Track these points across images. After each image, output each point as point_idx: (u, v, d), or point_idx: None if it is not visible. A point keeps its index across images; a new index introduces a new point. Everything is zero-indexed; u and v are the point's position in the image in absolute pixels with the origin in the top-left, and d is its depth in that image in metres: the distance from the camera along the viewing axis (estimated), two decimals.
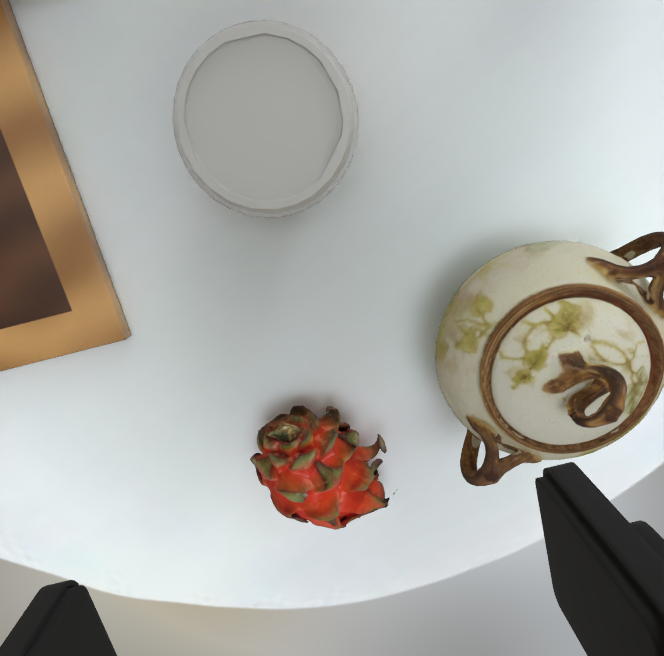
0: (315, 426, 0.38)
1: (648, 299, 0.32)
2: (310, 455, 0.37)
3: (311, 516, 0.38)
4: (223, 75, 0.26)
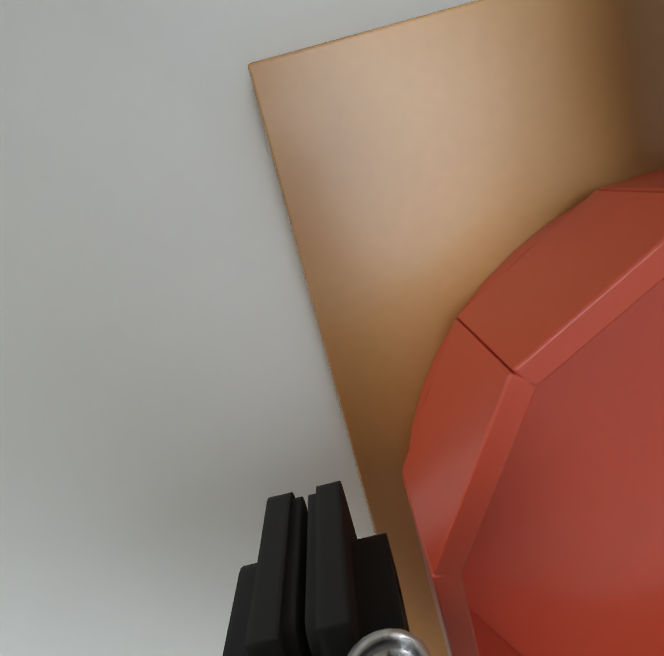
0: None
1: None
2: None
3: None
4: None
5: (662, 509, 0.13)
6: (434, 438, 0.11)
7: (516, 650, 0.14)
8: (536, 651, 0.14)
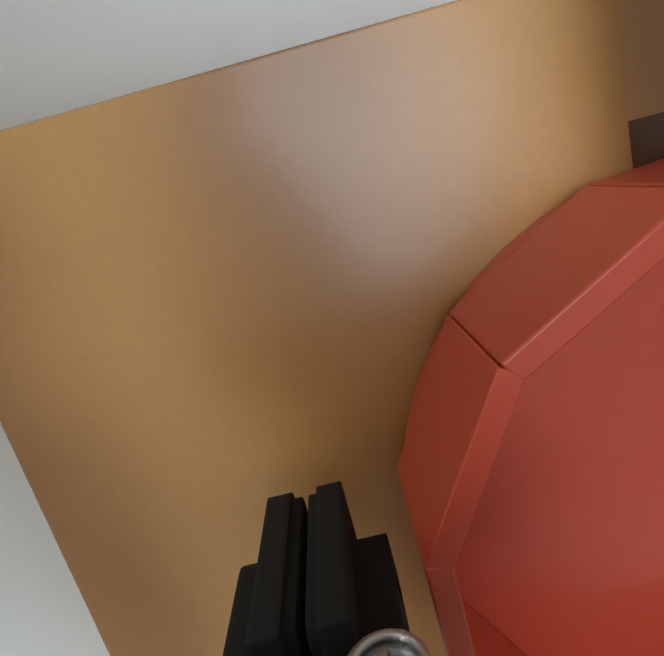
0: None
1: None
2: None
3: None
4: None
5: (657, 502, 0.13)
6: (427, 433, 0.11)
7: (514, 643, 0.14)
8: (534, 644, 0.14)
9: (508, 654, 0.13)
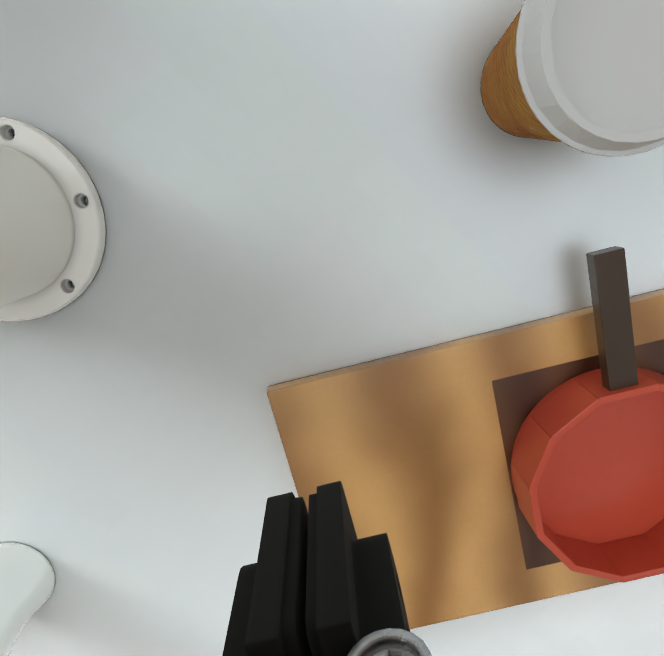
0: None
1: None
2: None
3: None
4: (584, 83, 0.22)
5: (596, 475, 0.38)
6: (525, 452, 0.36)
7: (546, 525, 0.39)
8: (553, 525, 0.39)
9: (545, 526, 0.38)
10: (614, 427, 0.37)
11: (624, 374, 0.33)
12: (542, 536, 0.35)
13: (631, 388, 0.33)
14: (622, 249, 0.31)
